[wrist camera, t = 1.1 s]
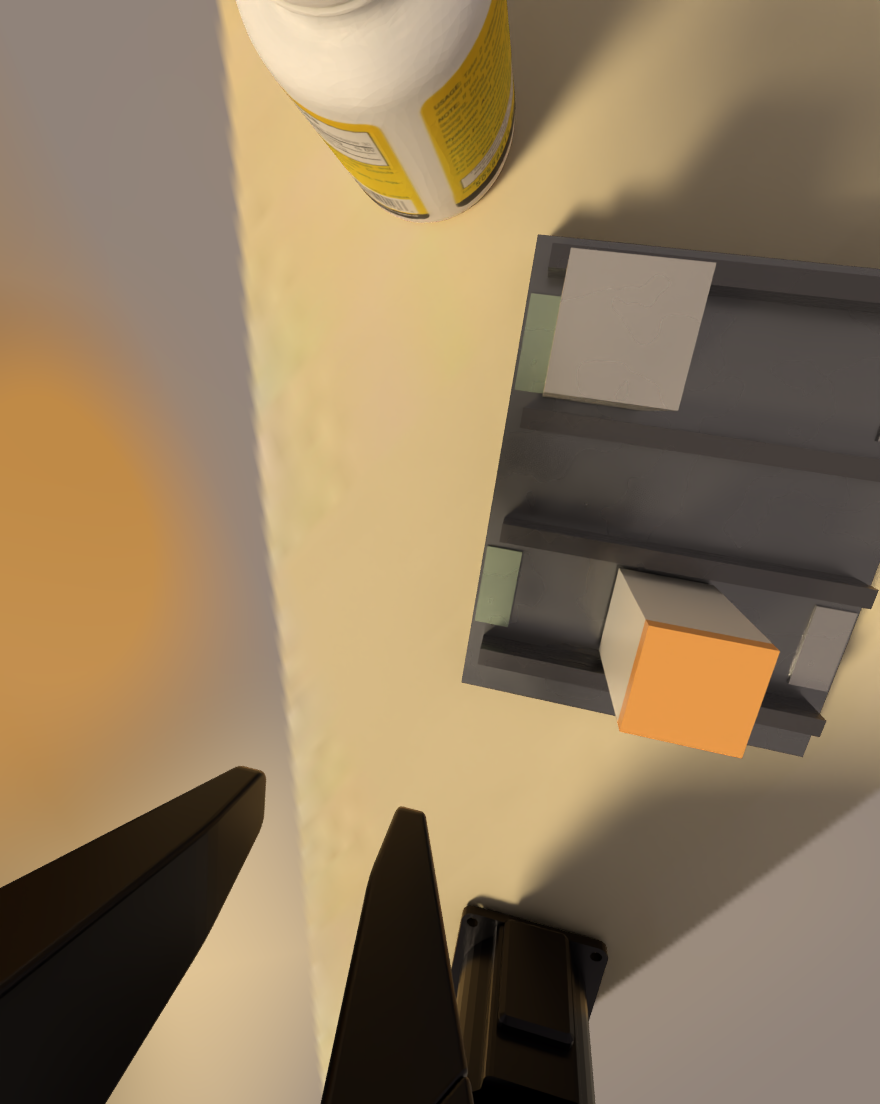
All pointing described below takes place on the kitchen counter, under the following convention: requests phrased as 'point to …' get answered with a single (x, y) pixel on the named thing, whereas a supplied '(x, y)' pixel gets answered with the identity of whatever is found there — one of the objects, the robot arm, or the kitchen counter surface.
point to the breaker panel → (684, 465)
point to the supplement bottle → (398, 92)
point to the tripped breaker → (683, 663)
